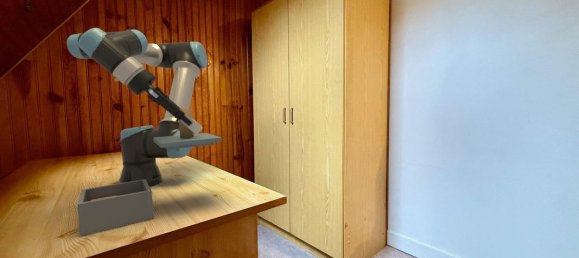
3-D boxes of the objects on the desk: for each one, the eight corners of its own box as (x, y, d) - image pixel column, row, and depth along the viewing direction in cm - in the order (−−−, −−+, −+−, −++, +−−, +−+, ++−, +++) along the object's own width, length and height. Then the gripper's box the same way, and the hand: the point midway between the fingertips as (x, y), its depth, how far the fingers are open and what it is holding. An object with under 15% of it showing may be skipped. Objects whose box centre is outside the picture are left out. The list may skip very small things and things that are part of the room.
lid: (153, 144, 84) (151, 109, 82) (207, 139, 93) (205, 107, 92) (161, 151, 71) (158, 110, 70) (222, 144, 81) (220, 108, 80)
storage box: (84, 216, 75) (81, 189, 74) (147, 203, 84) (145, 179, 83) (80, 236, 64) (77, 204, 63) (153, 218, 73) (151, 190, 72)
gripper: (133, 87, 83) (191, 136, 90) (117, 84, 67) (190, 143, 74) (150, 71, 84) (206, 120, 92) (139, 63, 68) (209, 123, 76)
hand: (199, 130), depth 83 cm, fingers closed on lid, 4 cm apart
